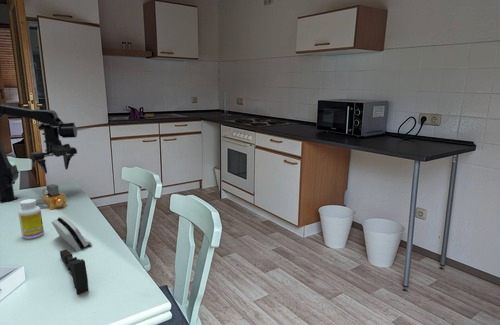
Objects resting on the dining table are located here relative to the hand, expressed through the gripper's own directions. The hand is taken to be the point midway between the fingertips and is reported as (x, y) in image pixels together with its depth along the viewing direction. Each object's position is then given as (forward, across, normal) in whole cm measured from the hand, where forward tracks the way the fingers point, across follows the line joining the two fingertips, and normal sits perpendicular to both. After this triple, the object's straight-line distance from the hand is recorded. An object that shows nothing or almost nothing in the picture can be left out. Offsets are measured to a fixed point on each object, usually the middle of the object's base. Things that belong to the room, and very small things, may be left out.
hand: (56, 171), depth 165 cm
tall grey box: (+11, -8, -12) cm, 18 cm away
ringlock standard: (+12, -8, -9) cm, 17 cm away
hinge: (+12, -20, -53) cm, 58 cm away
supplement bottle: (+12, -26, -37) cm, 47 cm away
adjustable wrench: (+12, -30, -73) cm, 80 cm away
